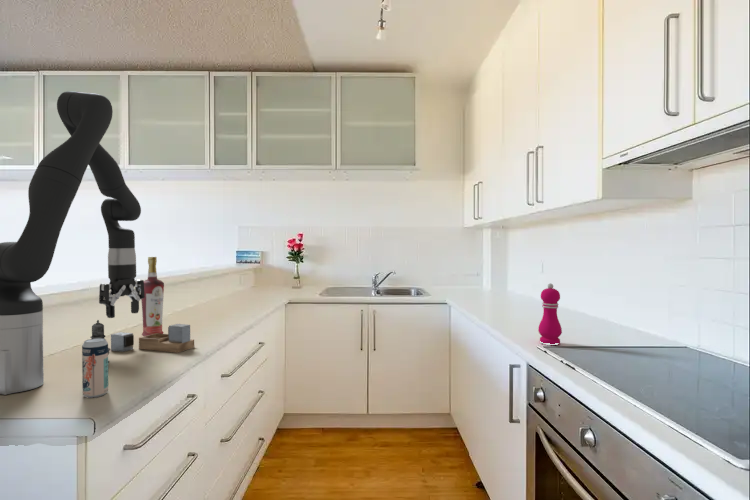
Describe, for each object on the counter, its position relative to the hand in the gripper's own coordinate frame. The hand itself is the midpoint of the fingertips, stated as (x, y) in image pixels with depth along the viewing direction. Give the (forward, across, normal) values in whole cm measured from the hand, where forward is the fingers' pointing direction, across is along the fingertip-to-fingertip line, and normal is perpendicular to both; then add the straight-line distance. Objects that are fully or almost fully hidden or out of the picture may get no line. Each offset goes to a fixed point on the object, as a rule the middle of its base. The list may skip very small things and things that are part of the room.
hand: (123, 315), depth 137 cm
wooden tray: (+11, +6, -11) cm, 17 cm away
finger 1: (+11, 0, 0) cm, 11 cm away
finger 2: (+8, +6, -16) cm, 19 cm away
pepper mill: (+12, +52, -125) cm, 136 cm away
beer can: (+10, -33, -29) cm, 45 cm away
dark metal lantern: (+11, -14, -7) cm, 19 cm away
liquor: (+11, +16, +5) cm, 21 cm away
